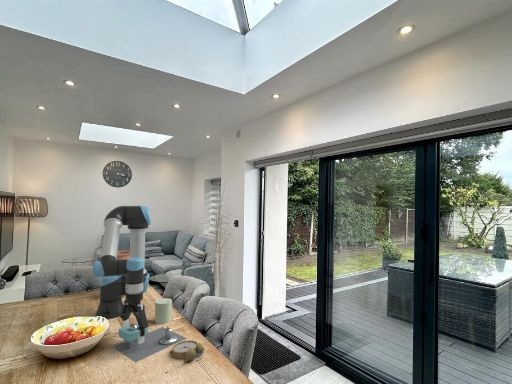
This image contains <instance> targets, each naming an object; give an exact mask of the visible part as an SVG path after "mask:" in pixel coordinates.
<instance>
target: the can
mask: <svg viewBox="0 0 512 384" xmlns="http://www.w3.org/2000/svg"><path fill="white" fill-rule="evenodd" d="M172 307H173V299H172V298H170V297H168V298H159V299H156V300H155V302H154V323H155V324H158V325H165V324H168V323H169V324H170V323H171V322H172V318H173V317H172V313H173V310H172V309H173V308H172Z"/></svg>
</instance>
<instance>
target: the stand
mask: <svg viewBox="0 0 512 384" xmlns="http://www.w3.org/2000/svg"><path fill="white" fill-rule="evenodd" d="M129 326H130V331H131V332H132V331H135V330H137V324H136V323H133V324H129ZM122 339H123V338H122ZM122 343H123V345H124V346H126V347H128V348H129V349H131V348H133V347H136V346H138V339H135V340H133V341H130V342H128V341H126V340H124V339H123V342H122ZM141 344H143V343H141ZM141 344H139V345H141Z"/></svg>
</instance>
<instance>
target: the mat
mask: <svg viewBox="0 0 512 384" xmlns="http://www.w3.org/2000/svg"><path fill="white" fill-rule="evenodd" d="M166 328H167V327H164V326H162V327H160V328H157V329H154V330H152V331H150V332H148V335H145V336H144V343H143V344H141V345H138V346H136V347H133V348H131V349H129V348H128V347H126V346H124V345H123V342H122V343H119V344H116V345H113V346H112V348H113V349H115V350H116V351H118V352H119V353H121V354H122V355H123V356H125V357H126V358H128V359H130V360H131V361H133V362H134V363H138V362H140V361H142V360H144V359H146V358H148V357H150V356H152V355H155V354H157V353H159V352H161V351H164V350H165V349H168V348H169V347H171V346H172V347H173V346H174V345H175V344H177V343H179V342H183V341H186V340H187V339H188V337H185V336H183V335H181V334H179V333H176V332H174V331H172V335H176V336H177V341H176V342H175V343H173V344H170V345H162V344H160V343H159V340H160V338H161V337H163V336H165V330H166Z"/></svg>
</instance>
